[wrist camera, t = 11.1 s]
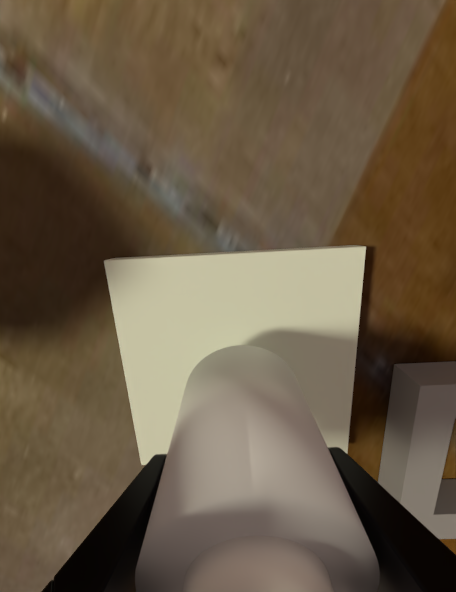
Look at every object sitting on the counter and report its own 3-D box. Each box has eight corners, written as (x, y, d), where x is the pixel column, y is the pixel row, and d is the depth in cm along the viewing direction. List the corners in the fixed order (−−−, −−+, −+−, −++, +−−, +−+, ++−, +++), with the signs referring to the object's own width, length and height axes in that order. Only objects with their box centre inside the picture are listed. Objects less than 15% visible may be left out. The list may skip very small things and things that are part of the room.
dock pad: (339, 442, 15) (346, 457, 14) (146, 450, 16) (141, 464, 15) (355, 245, 12) (366, 246, 11) (113, 258, 12) (103, 260, 12)
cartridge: (298, 441, 12) (389, 722, 5) (190, 445, 12) (140, 726, 5) (300, 342, 10) (428, 546, 4) (179, 348, 10) (91, 557, 4)
